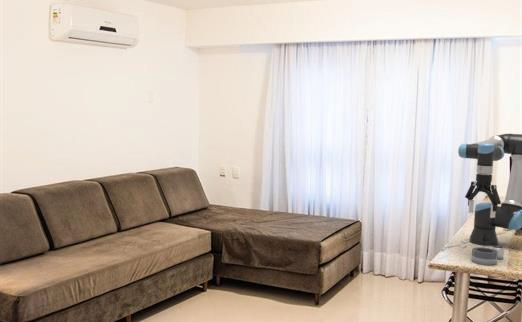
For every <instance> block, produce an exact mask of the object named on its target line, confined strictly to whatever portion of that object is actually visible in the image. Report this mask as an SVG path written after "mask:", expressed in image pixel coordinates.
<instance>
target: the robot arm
mask: <svg viewBox="0 0 522 322" xmlns="http://www.w3.org/2000/svg"><path fill="white" fill-rule="evenodd" d="M457 154H458V156H459V157H460V158H463V159H470V160H471V159H472V160H477V161H476V162H477V163H476V177H475V181H473V180H472V181H470V186H469V188H468V190H467V191H466V194H465V196H464V199H467V206H468V212H467V213H469V214H471V213H474V220H473V221H474V222H473V229H472V231H471V233H470V236H469V242H470V243H472V244H475V245H479V246H491V247H492V246H493V245H499V239H498V236H497V232H496V228H501V229H507V230H511V231H512V230H513V231H519V230H521V228H522V133H502V134H498V135H494V136H491V137H489V138H488V139H485V140H482V141H478V142H475V143H469V144H468V143H461V144H460V145H459V147H458V153H457ZM506 154H507V155H510V157H511V159H512V162H511V163H512V164H511V169H510V174H509V179H508V184H507V188H506V192H505V193H506V194H505V198H504V201H502V202H501V199H500V196H499V193H498V190H497V184H492V182H493V175H492V174H493V171H494V169H493V166H494V162H497V161H501V160H502V159H503V158H504V156H505V155H506ZM481 192H482V193H485V194H486V195H487V197H488V199H489V201H490V202H478V203H477V204H475V206H474V203H475V199H474V198H475V197H476V196H477V195H478V193H481Z"/></svg>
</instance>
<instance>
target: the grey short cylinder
mask: <svg viewBox="0 0 522 322" xmlns="http://www.w3.org/2000/svg"><path fill="white" fill-rule="evenodd" d="M470 260H471V263H473V264H477V265H479V266H480V265H481V266H488V267H489V266H496V265H497V264H498V260H497V251H496V250H493V249H491V248H490V247H482V246H481V247H472V250H471V258H470Z"/></svg>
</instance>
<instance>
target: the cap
mask: <svg viewBox="0 0 522 322" xmlns="http://www.w3.org/2000/svg"><path fill="white" fill-rule="evenodd" d="M490 249H493V250H496V251H497V261H502V260H504V255H505V247H504V246H503V245H500V244H497V245H493V246H491V248H490Z"/></svg>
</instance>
